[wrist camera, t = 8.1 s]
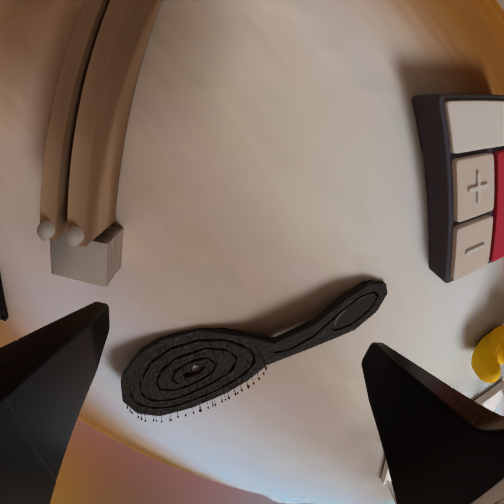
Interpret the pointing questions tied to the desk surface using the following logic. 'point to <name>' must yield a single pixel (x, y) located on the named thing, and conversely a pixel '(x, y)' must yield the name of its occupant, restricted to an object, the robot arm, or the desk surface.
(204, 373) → the hairbrush
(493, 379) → the duckling
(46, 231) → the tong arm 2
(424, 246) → the desk surface
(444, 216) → the calculator
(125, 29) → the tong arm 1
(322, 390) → the desk surface
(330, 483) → the desk surface
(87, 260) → the tong hinge block
